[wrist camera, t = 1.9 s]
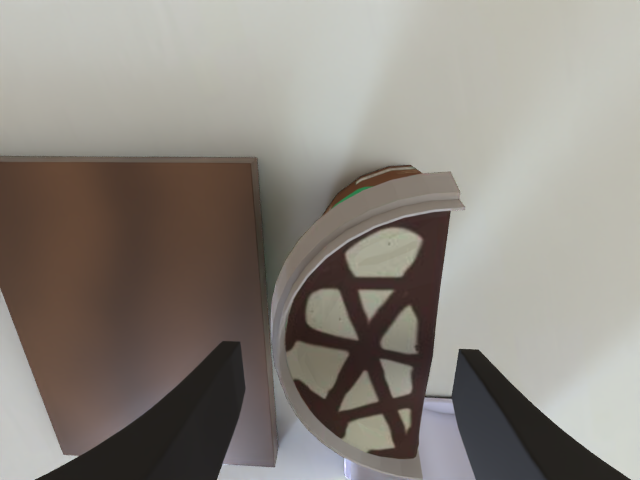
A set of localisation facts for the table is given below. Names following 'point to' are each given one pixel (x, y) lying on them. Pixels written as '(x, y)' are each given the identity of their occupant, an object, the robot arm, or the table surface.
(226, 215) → the walnut board
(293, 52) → the table surface
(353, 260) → the food container
